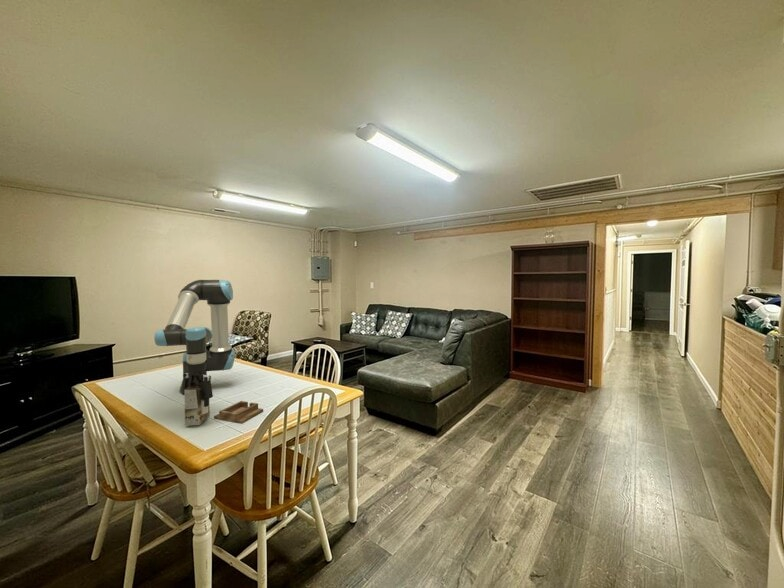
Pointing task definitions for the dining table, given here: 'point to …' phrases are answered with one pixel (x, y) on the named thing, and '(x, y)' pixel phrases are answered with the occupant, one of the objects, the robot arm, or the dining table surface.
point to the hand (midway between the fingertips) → (197, 411)
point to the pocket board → (239, 412)
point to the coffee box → (194, 406)
